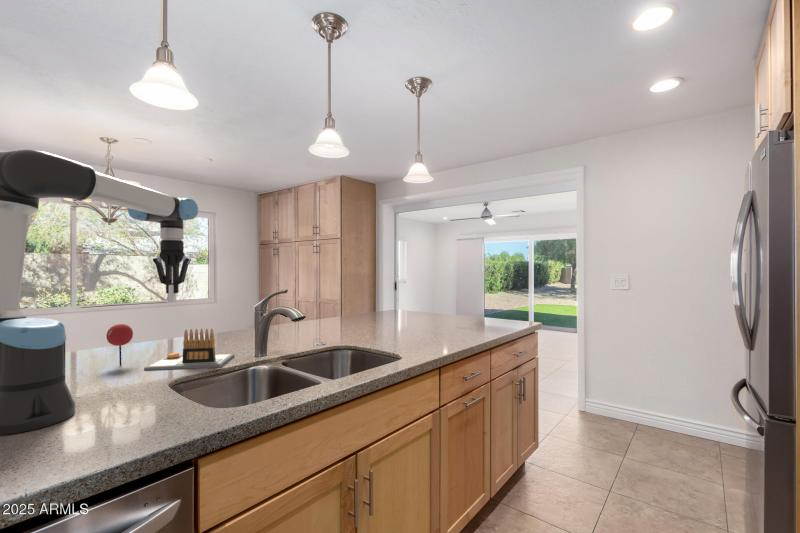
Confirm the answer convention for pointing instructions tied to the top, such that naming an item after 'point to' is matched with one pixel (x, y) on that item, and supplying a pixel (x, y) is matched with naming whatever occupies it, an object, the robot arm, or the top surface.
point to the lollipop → (119, 336)
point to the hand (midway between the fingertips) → (172, 302)
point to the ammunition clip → (198, 347)
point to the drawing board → (177, 363)
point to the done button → (173, 355)
